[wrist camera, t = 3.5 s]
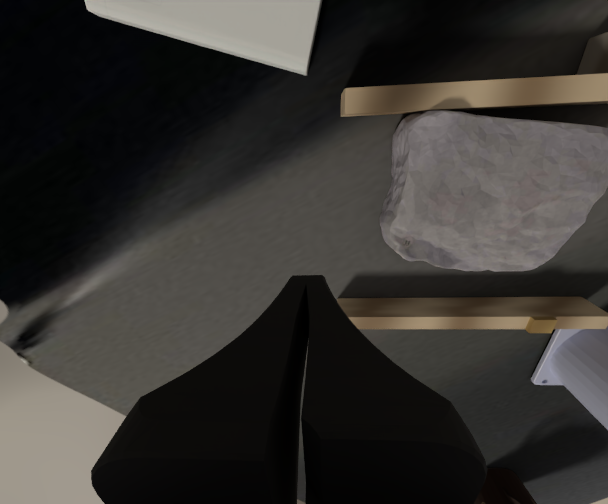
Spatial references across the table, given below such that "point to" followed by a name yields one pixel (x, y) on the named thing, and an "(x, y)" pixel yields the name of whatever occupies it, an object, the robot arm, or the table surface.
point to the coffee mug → (503, 489)
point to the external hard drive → (228, 25)
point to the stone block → (490, 189)
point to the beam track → (479, 96)
